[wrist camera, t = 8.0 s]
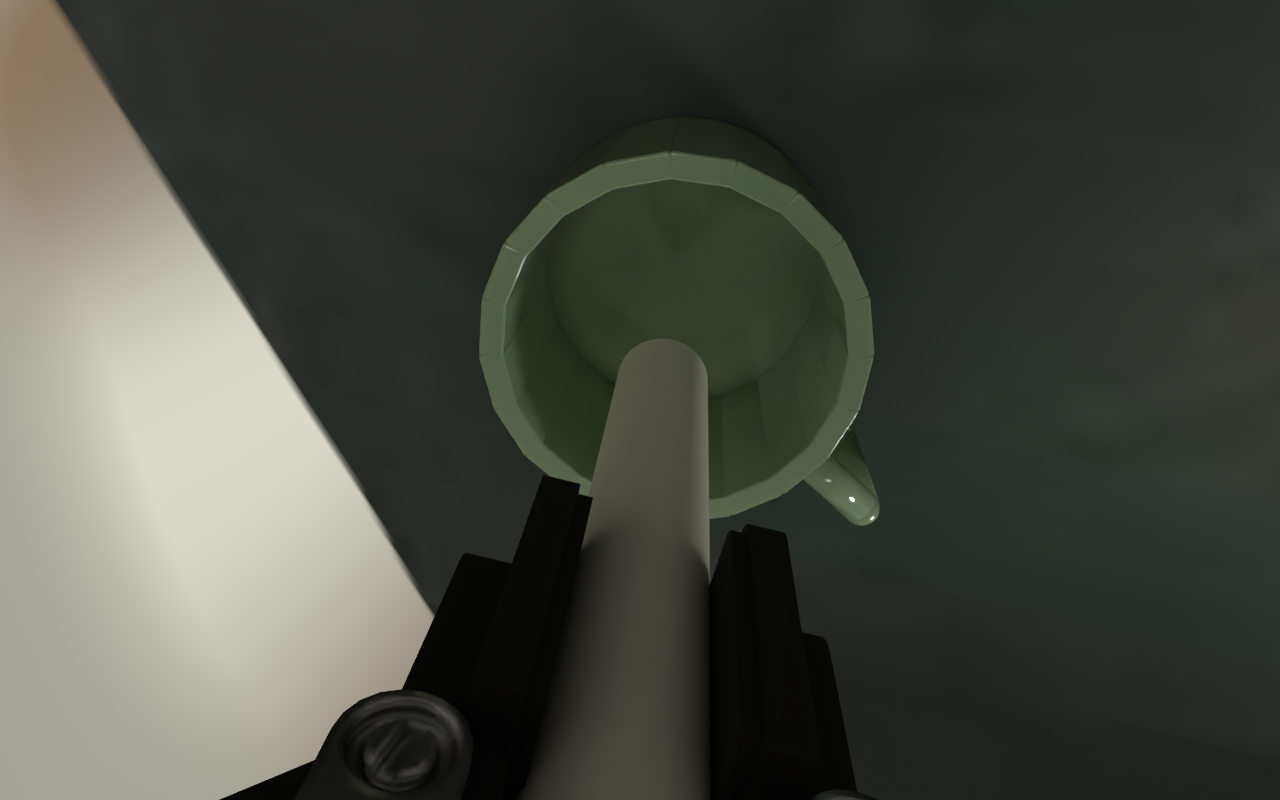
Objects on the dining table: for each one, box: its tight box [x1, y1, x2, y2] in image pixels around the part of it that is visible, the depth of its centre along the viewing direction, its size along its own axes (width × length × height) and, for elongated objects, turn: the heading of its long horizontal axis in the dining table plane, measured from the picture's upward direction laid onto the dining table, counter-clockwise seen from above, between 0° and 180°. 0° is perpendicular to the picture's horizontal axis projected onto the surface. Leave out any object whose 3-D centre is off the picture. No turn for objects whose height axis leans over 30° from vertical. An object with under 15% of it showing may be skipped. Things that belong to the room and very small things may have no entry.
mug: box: [479, 117, 880, 526], centre depth 23 cm, size 12×9×7 cm
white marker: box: [516, 339, 711, 800], centre depth 12 cm, size 2×2×14 cm
